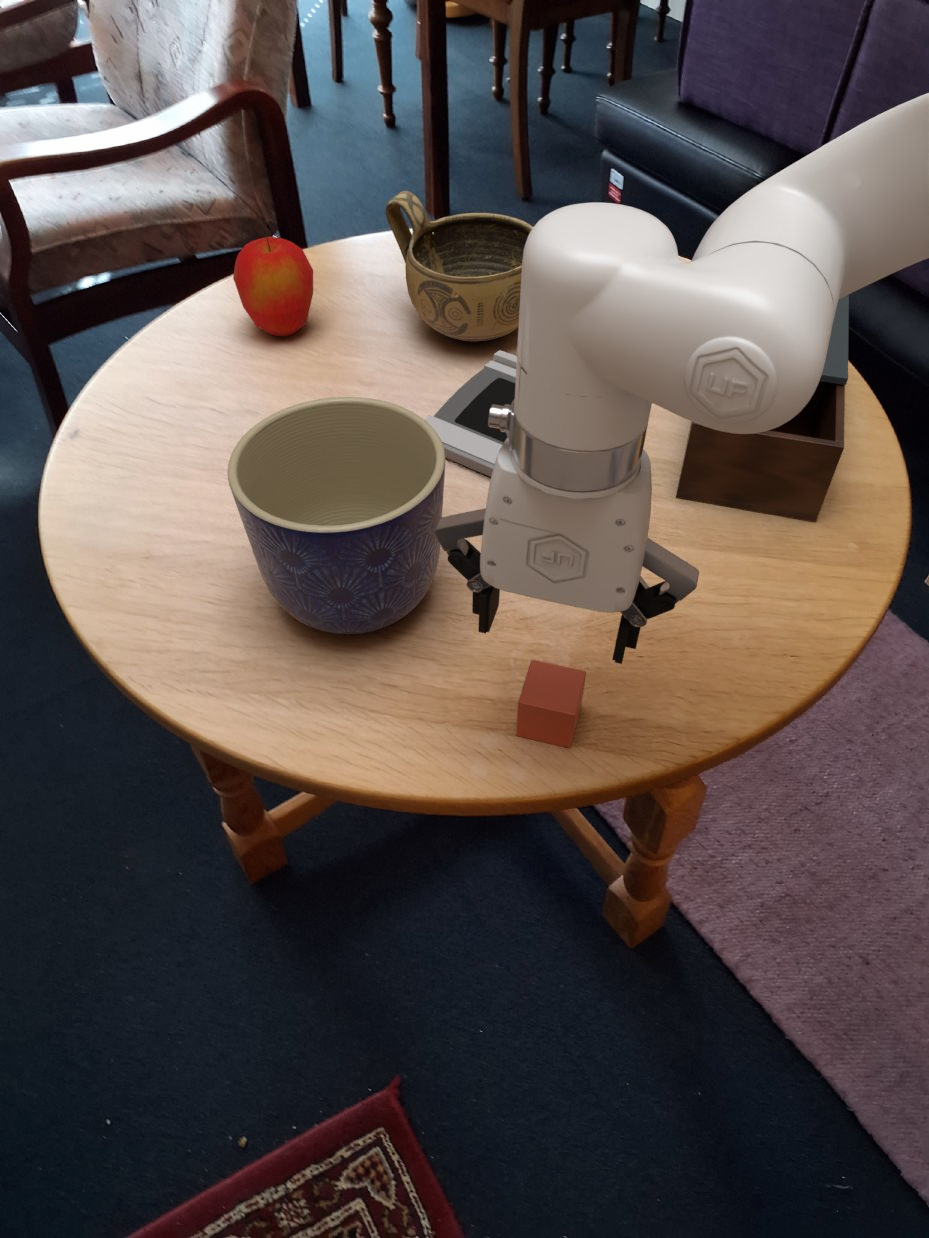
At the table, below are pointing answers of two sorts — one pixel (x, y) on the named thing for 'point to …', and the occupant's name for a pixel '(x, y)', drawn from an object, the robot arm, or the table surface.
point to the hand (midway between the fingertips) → (553, 633)
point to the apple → (274, 284)
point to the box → (769, 461)
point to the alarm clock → (477, 415)
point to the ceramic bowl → (461, 268)
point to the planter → (342, 509)
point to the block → (550, 703)
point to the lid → (838, 346)
